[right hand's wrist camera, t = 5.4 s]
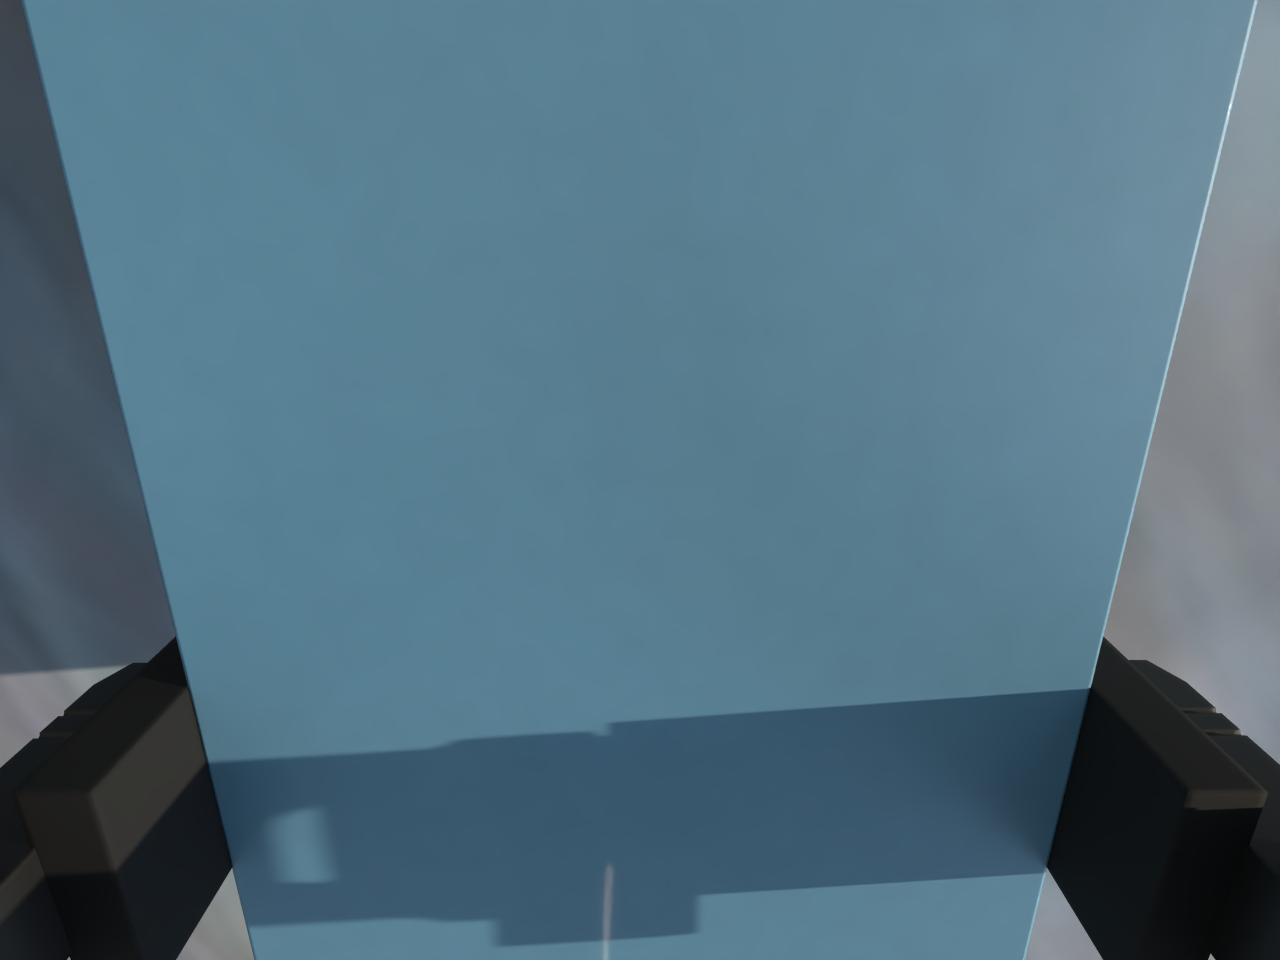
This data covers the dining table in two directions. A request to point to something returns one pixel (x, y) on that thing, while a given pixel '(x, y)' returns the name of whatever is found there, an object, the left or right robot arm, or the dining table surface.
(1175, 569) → the dining table surface
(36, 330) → the dining table surface
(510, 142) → the cabinet
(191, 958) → the dining table surface
